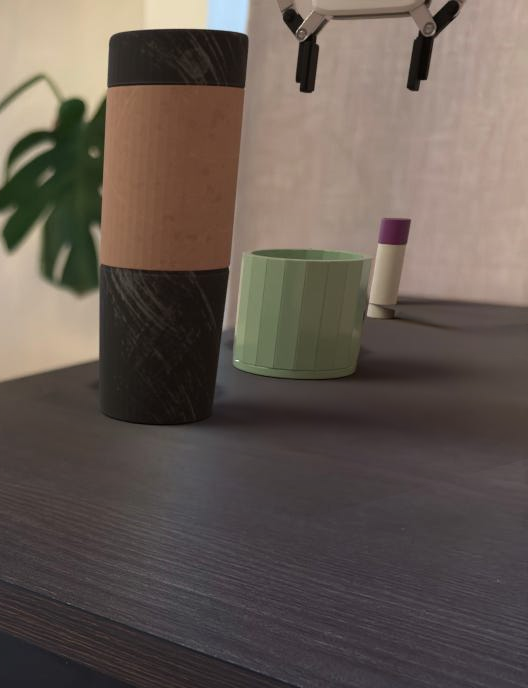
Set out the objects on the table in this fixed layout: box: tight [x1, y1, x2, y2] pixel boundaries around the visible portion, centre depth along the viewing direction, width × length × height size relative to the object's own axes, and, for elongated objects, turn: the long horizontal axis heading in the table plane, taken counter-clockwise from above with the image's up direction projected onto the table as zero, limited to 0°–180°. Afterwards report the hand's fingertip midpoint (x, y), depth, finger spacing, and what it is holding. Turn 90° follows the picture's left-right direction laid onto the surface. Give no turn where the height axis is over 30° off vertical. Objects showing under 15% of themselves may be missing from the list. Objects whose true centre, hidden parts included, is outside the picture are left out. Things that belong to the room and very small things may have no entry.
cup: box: [232, 247, 375, 380], centre depth 70 cm, size 9×9×8 cm
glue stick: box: [366, 217, 412, 320], centre depth 93 cm, size 3×3×9 cm
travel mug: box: [98, 28, 250, 425], centre depth 55 cm, size 8×8×20 cm
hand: (358, 91), depth 88 cm, fingers open, 9 cm apart
